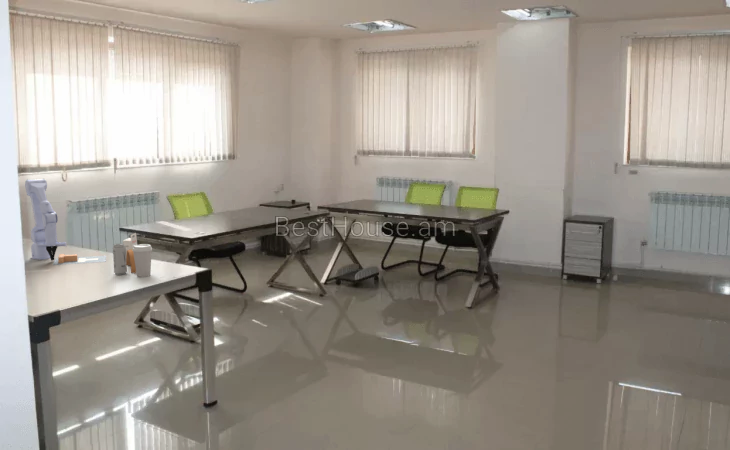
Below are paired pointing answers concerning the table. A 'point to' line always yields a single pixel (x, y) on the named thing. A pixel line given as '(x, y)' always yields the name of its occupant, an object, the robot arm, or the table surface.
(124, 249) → the energy drink can
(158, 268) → the table surface
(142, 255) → the coffee cup
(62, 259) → the t block
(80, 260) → the board
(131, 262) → the arch
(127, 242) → the ink cartridge box
